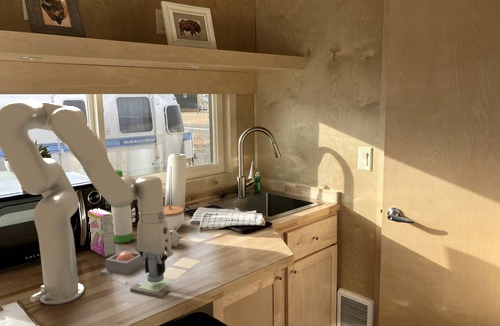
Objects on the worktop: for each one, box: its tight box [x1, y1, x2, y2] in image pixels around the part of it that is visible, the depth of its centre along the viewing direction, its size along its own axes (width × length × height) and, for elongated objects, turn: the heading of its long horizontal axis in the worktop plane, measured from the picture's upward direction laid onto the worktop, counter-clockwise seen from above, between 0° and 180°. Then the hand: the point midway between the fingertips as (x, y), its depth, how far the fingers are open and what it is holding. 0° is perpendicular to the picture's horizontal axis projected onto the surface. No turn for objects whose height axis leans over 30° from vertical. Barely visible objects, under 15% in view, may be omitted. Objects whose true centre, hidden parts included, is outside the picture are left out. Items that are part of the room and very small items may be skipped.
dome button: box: [116, 252, 134, 262], centre depth 145 cm, size 6×6×6 cm
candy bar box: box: [87, 207, 116, 257], centre depth 161 cm, size 11×5×16 cm, turn 47°
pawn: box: [146, 252, 165, 283], centre depth 131 cm, size 5×5×11 cm
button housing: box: [99, 249, 145, 276], centre depth 145 cm, size 12×12×5 cm
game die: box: [169, 228, 183, 248], centre depth 164 cm, size 9×8×10 cm
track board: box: [129, 257, 201, 299], centre depth 140 cm, size 28×12×1 cm, turn 156°
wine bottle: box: [110, 169, 134, 244], centre depth 172 cm, size 8×8×30 cm
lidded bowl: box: [163, 205, 185, 231], centre depth 188 cm, size 13×13×11 cm
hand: (155, 272), depth 131 cm, fingers closed on pawn, 4 cm apart
